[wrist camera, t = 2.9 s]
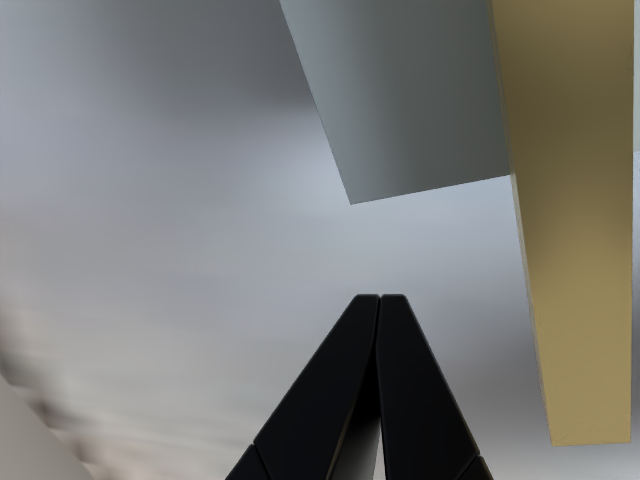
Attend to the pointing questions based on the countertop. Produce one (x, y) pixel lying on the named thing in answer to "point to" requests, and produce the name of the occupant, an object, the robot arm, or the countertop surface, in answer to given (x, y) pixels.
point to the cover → (408, 91)
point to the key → (573, 200)
